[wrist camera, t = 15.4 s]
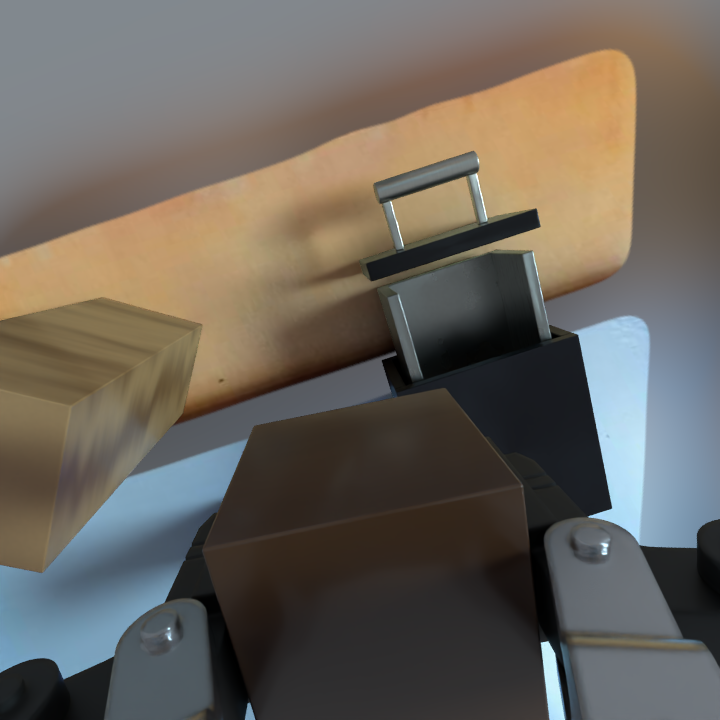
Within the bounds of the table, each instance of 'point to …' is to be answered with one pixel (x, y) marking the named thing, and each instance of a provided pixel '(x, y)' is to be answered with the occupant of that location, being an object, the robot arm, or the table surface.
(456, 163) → the drawer
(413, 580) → the block
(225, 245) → the table surface
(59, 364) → the stand
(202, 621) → the robot arm
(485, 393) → the black drawer cabinet
